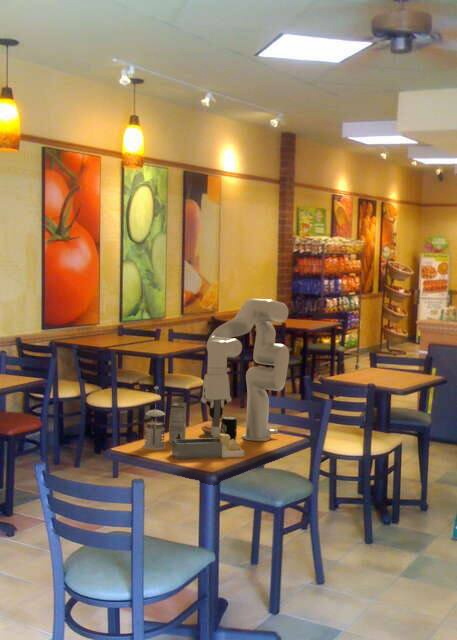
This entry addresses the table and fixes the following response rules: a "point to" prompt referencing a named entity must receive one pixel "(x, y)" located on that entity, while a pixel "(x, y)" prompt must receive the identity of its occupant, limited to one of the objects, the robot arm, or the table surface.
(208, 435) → the pie
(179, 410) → the coffee box
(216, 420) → the grey rectangular bar
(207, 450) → the slot block
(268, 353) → the robot arm
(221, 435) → the tan cube
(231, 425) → the beverage can
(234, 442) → the wooden cube
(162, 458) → the table surface
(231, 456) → the tray
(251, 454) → the table surface
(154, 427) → the french press
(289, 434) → the table surface
